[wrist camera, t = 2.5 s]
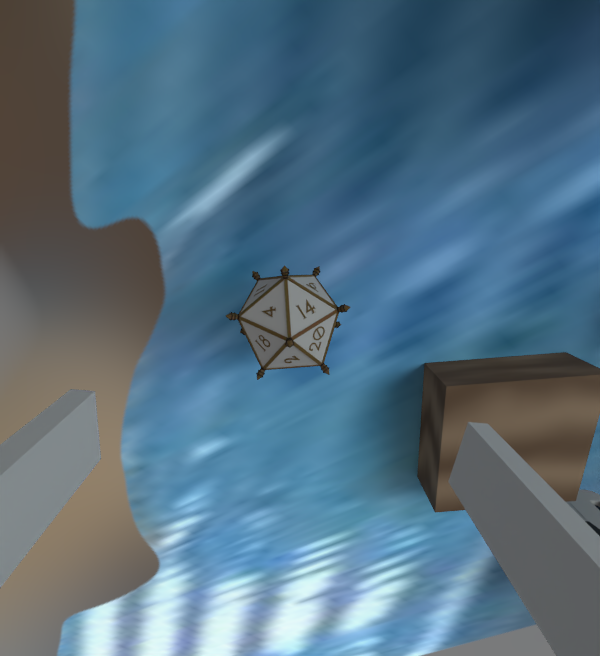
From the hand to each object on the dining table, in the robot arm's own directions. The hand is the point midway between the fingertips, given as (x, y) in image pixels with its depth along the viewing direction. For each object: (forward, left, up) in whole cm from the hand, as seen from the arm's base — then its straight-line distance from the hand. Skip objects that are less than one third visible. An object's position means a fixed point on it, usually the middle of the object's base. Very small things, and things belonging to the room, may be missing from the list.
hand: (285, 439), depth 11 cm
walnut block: (+10, +22, -19) cm, 31 cm away
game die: (0, 0, -19) cm, 19 cm away
